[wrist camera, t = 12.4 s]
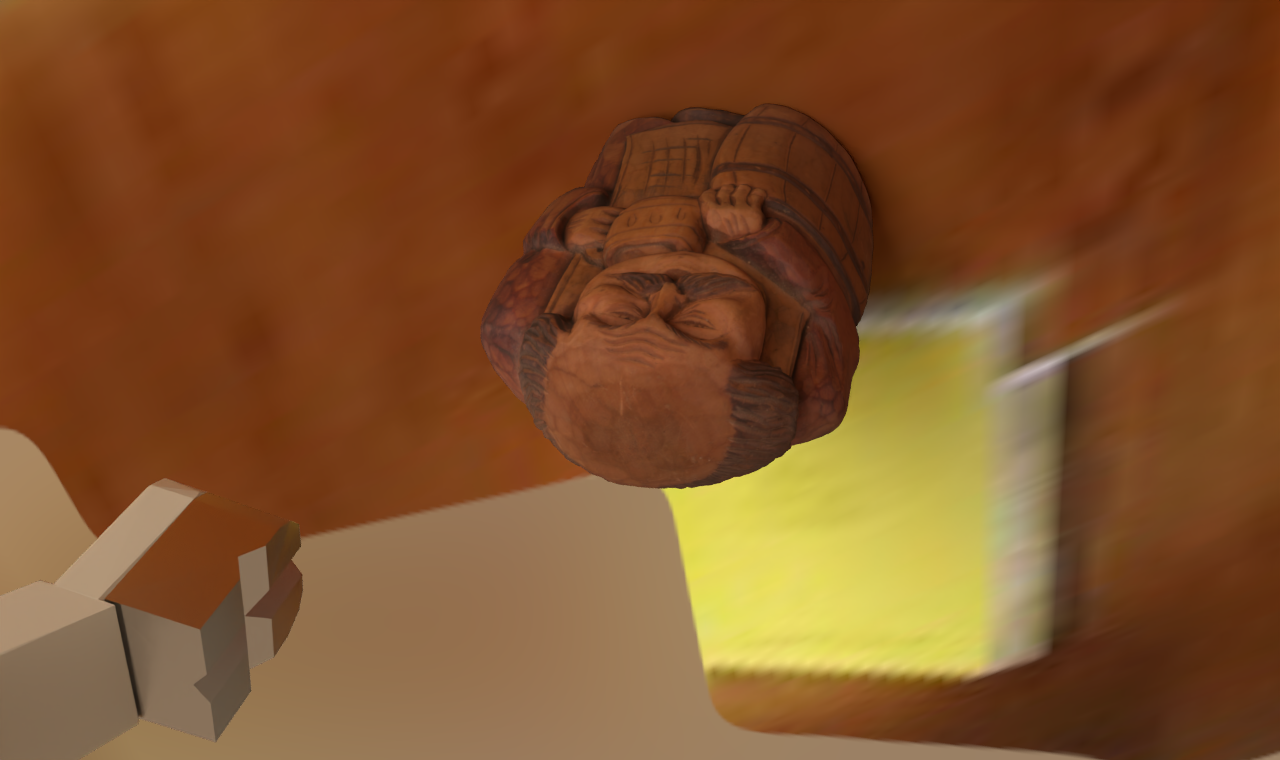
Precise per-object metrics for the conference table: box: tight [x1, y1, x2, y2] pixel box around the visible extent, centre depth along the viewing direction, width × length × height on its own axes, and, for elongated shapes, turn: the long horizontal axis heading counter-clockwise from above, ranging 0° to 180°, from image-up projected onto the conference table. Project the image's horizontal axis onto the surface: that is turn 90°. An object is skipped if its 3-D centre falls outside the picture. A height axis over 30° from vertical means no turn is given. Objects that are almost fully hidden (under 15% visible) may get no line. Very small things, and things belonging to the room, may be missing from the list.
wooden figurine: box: [481, 104, 873, 489], centre depth 36 cm, size 12×6×18 cm, turn 96°
